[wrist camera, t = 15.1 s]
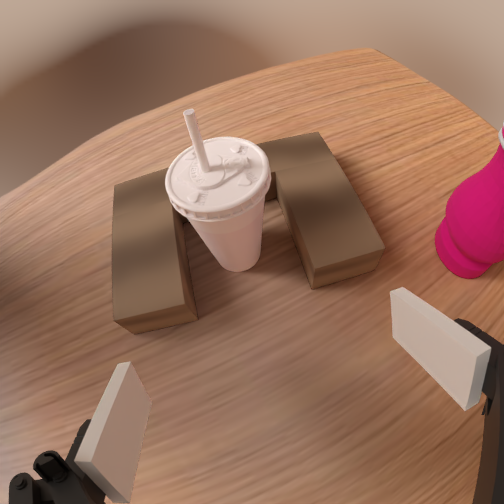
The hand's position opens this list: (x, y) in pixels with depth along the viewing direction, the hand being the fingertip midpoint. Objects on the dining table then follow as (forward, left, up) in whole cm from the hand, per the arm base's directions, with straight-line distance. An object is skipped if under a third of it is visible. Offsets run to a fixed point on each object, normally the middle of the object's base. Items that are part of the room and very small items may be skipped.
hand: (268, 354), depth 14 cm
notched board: (-6, +11, -8) cm, 15 cm away
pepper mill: (+15, +13, -8) cm, 22 cm away
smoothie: (-5, +9, -8) cm, 13 cm away
